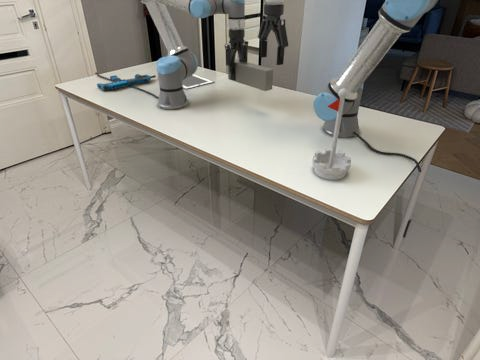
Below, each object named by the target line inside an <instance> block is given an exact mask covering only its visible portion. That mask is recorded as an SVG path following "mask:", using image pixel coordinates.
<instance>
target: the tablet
mask: <svg viewBox="0 0 480 360" xmlns="http://www.w3.org/2000/svg"><path fill="white" fill-rule="evenodd" d="M182 83H183V90H190V89H192V88H196V87H200V86H204V85H209V84H213V83H214V81H213V80H210V79H208V78H205V77H202V76H200V75H197V74H195V73H194V74H193V75H192V76H190V77H188V78H186V79H184V80H182Z"/></svg>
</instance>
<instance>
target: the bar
mask: <svg viewBox="0 0 480 360" xmlns="http://www.w3.org/2000/svg"><path fill="white" fill-rule="evenodd" d="M234 67H235V80H231V73H230V68H229V66H227V79H228V80H230V81H233V82H234V83H235V82H236V83H238V84H241V85H245V86H247V87H251V88H254V89H257V90H260V91H264V92H267V91H271V90H273V85H274V84H273V83H274V68H271V67H268V66H267V67H266V66H264V65H259V64H256V63H252V62H248V61H247V62H245V61H241V60H239V59H237V58H235V62H234Z"/></svg>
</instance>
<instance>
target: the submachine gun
mask: <svg viewBox="0 0 480 360" xmlns="http://www.w3.org/2000/svg"><path fill="white" fill-rule="evenodd" d="M155 78H157V75H156V74H154V75H149V74H143V75H142V74H140V73H137V74H135V75H134V78H128V79H127V78H125V79H121V77H118V75H116V74H115V75H110V76H109V79H112V81H110V82H105V83H100V82H99V83H96V87H97V88H99V89H100V90H101V91H103V92H104V91H109V90H111V91H112V90H114V91H116V90H117V89H119V88H123V87H129V86H128V85H131V86H134V85H138V84H141V83H148V82H150V81H151V80H152V79H155Z"/></svg>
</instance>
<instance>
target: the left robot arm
mask: <svg viewBox="0 0 480 360" xmlns="http://www.w3.org/2000/svg"><path fill="white" fill-rule="evenodd" d="M140 3H142V4H143V5H145V7H146V8H147V10H148V12H149V15H150V17H151V19H152V21H153V23H154V25H155V27H156V29H157V32H158V34H159V36H160V38H161V40H162V42H163V45H164V47H165V48H166V51H167V55H166V56H162V57H160V58H159V59H157V60H156V71H157V78H158V85H159V94H158V96H157V95H155V94H154V93H152V92H150V91H147V90H146V89H142V88H141V87H137V86H134V85H128V86H127V87H130V88H133V89H135V90H139V91H142V92H144V93H146V94H149V95H151V96H152V97H154V98H156V99H157V106H158V108H159V109H162V110H166V111H174V110H176V111H177V110H181V109H184V108H186V107H188V105H189V100H188V97H187V94H186V93H185V91H184V90H185V89H184V88H183V83H182V80H184V79H186V78H188V77H190V76H192V75H193V74H195V73H196V72H197V71H198V67H199V61H198V58H197V56H196V55H195V54H194V53H193V52H190V50H189V48H188V47H187V46H185V45H184V44H183V42H182V40H181V38H180V37H181V36H180V35H179V33H178V30H177V28H176V25H175V24H174V22H173V20H172V17H171V15H170V13H169V11H168V8H167V6H168V7H171V8H174V9H177V10H180V11H183V12H186V13H189V14H191V15H192V16H193V17H194V18H196V19H205V18H207V17H208V18H209V17H210V16H214V15H227V23H228V28H229V29H228V38H229V41H228V43H227V44H226V43H225V44H224V49H225V66H227V67H228V66H229V68H230V73H231V80H230V81H232V80H235V67H234V62H235V59H236V55H237V54H238V55H237V57H238V60H241V61H245V62H248V56H249V55H248V54H249V53H248V50H249V49H248V47H249V43H250V42H249V41H248V40H245V39H244V38H245V32H246V31H245V28H246V27H245V26H246V24H245V22H246V21H245V20H246V16H245V13H246V11H245V9H246V6H245V5H246V0H140ZM95 75H96V76H98V77H100V78H101V79H105V80H108V81H110V82H112V79H110V77H105V76H103V75H101V74H99V73H98V72H97V71H96V72H95Z"/></svg>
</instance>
